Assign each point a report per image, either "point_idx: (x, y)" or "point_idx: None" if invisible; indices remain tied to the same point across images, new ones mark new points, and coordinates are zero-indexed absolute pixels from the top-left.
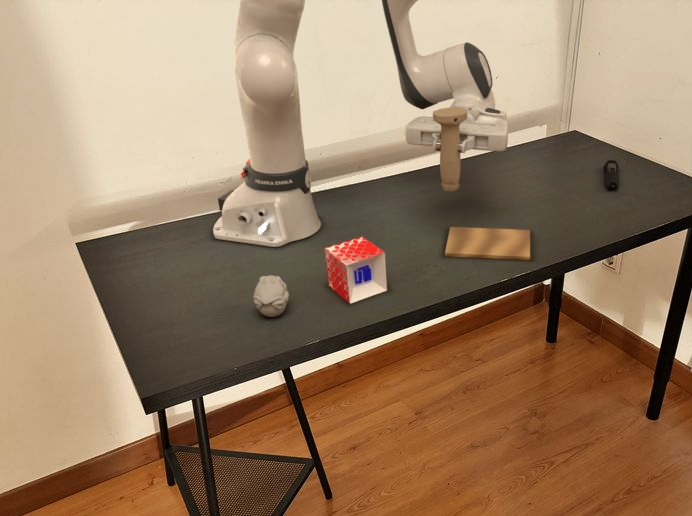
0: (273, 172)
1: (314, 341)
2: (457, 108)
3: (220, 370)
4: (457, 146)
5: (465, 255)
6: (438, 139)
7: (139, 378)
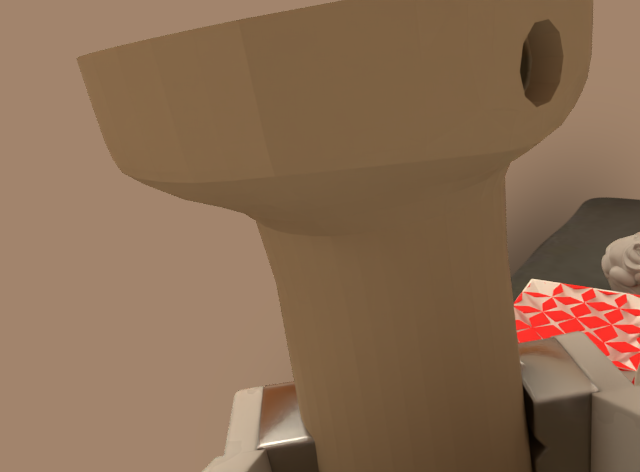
0: None
1: None
2: (273, 17)
3: (563, 229)
4: None
5: None
6: (583, 386)
7: (635, 199)
